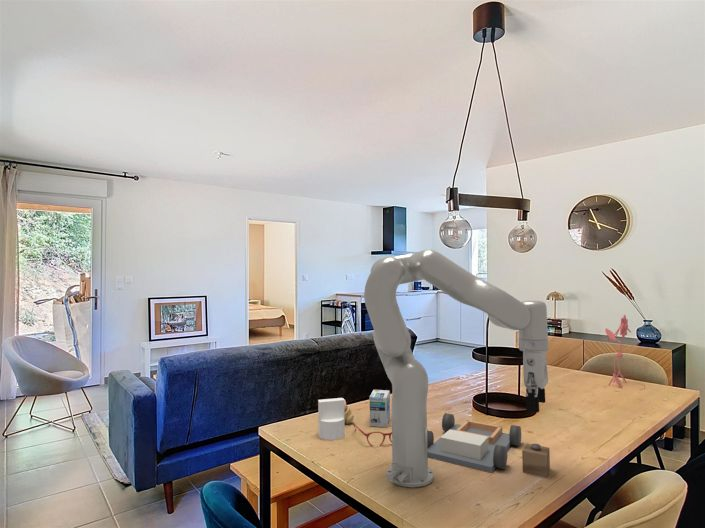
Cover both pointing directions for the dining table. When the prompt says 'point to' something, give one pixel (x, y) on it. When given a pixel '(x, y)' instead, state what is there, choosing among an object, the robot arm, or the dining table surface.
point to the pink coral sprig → (623, 332)
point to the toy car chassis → (473, 444)
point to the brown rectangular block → (536, 460)
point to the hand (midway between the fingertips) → (536, 406)
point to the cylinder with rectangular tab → (331, 418)
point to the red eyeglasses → (374, 432)
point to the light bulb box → (380, 408)
